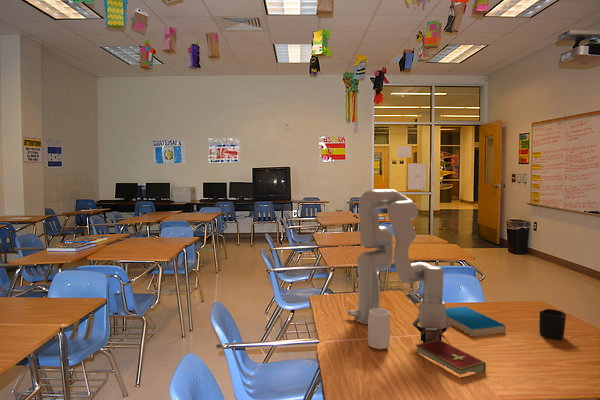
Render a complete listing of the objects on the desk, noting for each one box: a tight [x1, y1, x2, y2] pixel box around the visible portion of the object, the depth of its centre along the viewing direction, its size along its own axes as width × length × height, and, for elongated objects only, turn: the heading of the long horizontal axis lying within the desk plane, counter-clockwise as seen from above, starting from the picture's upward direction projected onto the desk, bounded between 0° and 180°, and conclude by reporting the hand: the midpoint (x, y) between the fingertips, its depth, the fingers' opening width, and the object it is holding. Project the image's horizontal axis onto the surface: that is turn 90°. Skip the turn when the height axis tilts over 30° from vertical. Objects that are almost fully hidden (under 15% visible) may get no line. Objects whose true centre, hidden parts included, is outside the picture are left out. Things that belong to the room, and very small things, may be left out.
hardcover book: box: [415, 340, 487, 375], centre depth 148 cm, size 12×21×4 cm, turn 27°
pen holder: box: [538, 308, 567, 341], centre depth 173 cm, size 9×9×10 cm
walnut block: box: [425, 328, 440, 343], centre depth 163 cm, size 5×5×6 cm
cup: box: [367, 307, 391, 350], centre depth 159 cm, size 8×8×14 cm
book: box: [446, 305, 506, 337], centre depth 185 cm, size 17×4×25 cm
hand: (430, 342), depth 163 cm, fingers closed on walnut block, 5 cm apart
